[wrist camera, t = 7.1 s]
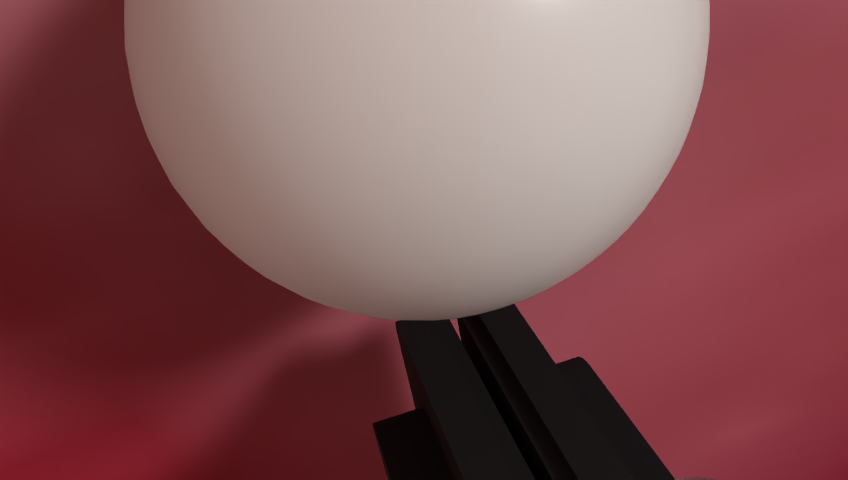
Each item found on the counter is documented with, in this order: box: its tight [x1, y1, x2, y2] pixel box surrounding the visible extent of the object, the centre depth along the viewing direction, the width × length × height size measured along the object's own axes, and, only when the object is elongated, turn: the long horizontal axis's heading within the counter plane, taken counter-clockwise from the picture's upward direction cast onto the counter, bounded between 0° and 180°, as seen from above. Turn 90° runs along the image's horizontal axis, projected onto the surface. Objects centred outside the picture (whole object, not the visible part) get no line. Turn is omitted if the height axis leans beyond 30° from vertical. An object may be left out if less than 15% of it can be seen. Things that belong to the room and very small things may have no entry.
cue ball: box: [124, 0, 710, 320], centre depth 8 cm, size 6×6×6 cm
